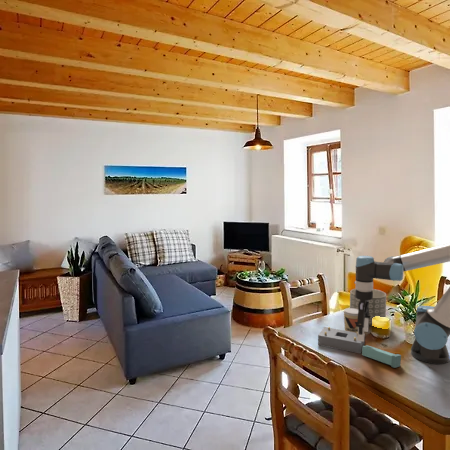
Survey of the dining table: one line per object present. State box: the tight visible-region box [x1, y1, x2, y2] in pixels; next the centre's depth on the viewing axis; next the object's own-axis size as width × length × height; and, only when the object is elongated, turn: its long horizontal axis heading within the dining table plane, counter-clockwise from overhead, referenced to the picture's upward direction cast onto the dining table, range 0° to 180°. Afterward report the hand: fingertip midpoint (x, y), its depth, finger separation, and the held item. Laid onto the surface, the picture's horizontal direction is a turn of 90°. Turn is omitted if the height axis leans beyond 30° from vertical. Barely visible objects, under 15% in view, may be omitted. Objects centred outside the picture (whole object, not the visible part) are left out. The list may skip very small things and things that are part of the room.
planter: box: [349, 288, 387, 327], centre depth 202 cm, size 19×19×18 cm
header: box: [317, 326, 366, 355], centre depth 176 cm, size 20×12×6 cm, turn 60°
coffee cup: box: [343, 307, 358, 333], centre depth 190 cm, size 9×9×12 cm
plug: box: [361, 345, 402, 369], centre depth 159 cm, size 5×5×16 cm
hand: (362, 335), depth 164 cm, fingers open, 11 cm apart
